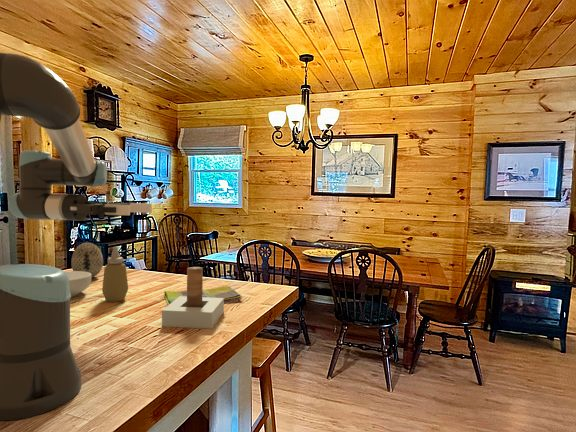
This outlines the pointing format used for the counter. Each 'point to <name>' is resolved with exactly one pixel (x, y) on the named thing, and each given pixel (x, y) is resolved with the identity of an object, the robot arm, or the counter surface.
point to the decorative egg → (87, 259)
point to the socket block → (193, 313)
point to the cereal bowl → (78, 281)
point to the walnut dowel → (194, 286)
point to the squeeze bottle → (115, 278)
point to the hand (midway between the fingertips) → (141, 209)
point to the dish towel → (207, 294)
